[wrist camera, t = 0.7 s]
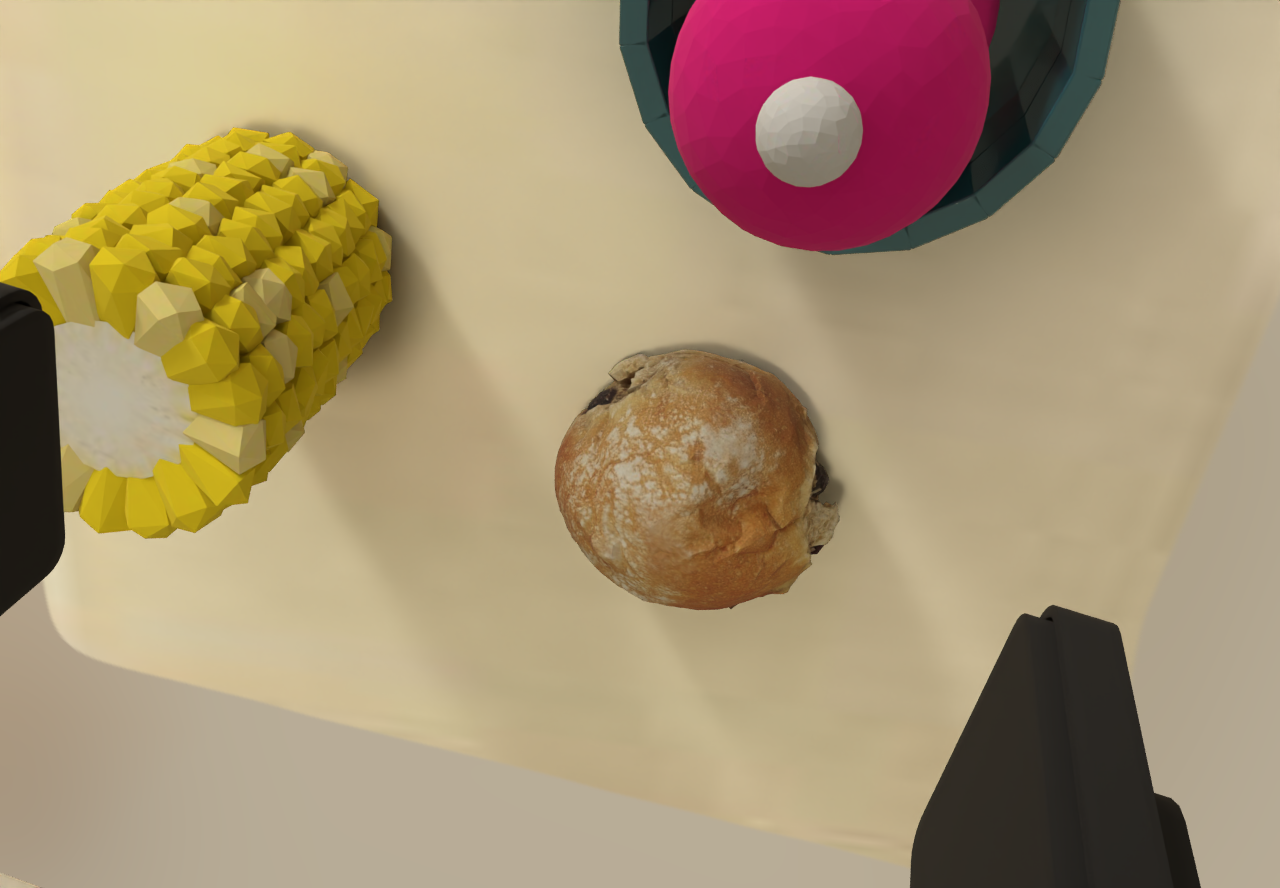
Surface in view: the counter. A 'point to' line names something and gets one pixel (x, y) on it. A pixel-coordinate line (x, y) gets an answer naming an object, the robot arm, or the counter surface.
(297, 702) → the counter surface
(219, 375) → the food
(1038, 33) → the pot
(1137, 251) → the counter surface
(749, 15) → the pepper mill
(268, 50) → the counter surface
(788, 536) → the bread roll
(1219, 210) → the counter surface
